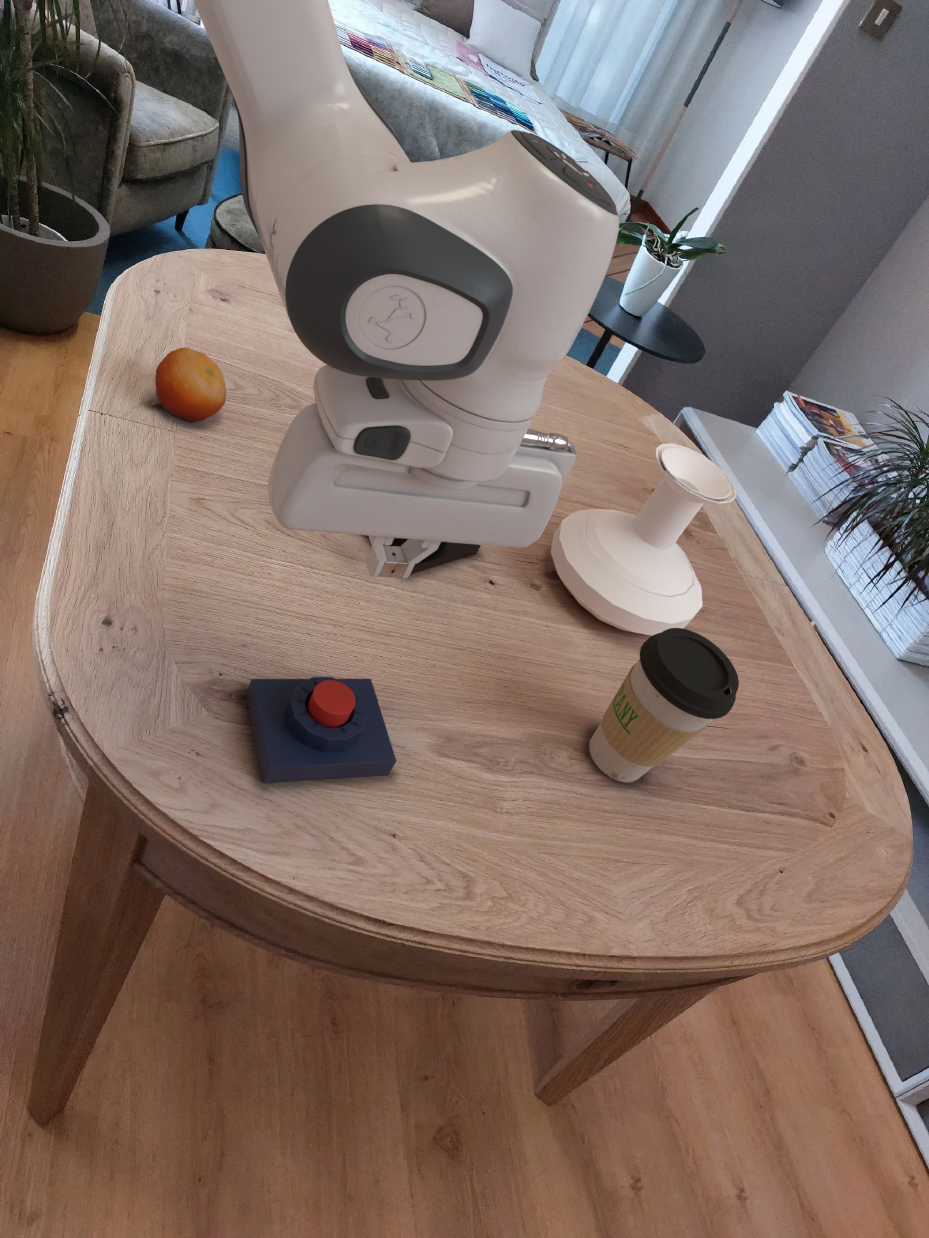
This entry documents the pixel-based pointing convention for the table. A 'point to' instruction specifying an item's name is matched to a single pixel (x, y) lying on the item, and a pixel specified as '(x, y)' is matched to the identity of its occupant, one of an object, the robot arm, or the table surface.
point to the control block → (316, 733)
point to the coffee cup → (663, 703)
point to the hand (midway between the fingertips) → (386, 571)
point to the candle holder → (642, 549)
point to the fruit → (190, 385)
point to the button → (331, 703)
